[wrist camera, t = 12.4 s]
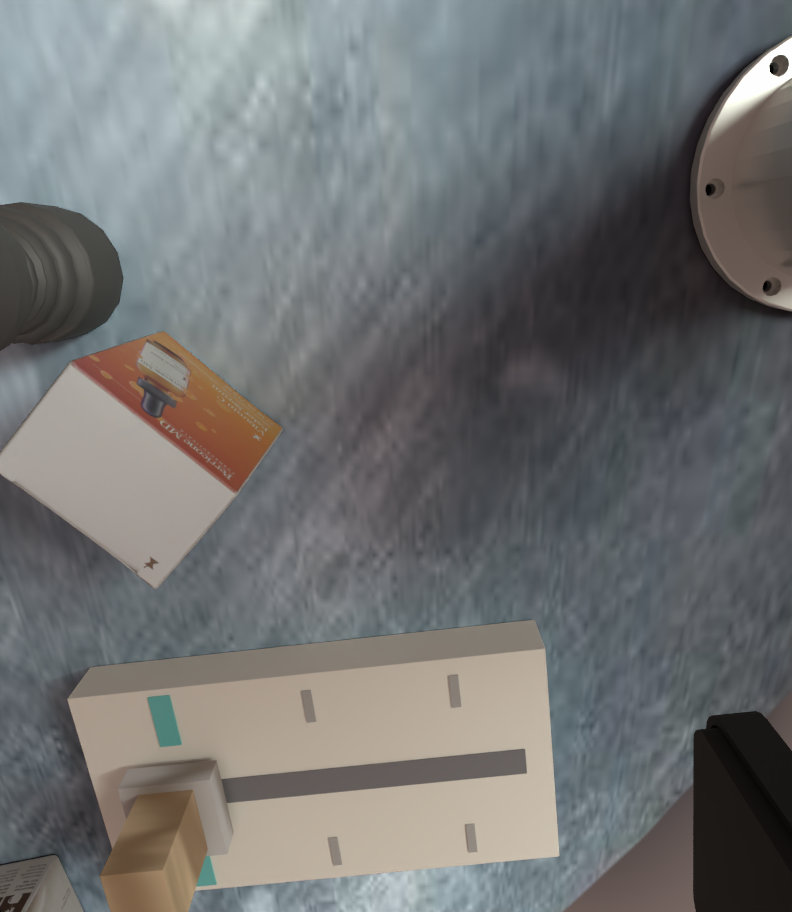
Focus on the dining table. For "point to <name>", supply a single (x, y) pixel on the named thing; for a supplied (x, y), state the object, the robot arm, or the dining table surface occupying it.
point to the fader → (166, 836)
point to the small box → (139, 451)
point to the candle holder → (54, 274)
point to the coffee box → (37, 887)
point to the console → (343, 749)
